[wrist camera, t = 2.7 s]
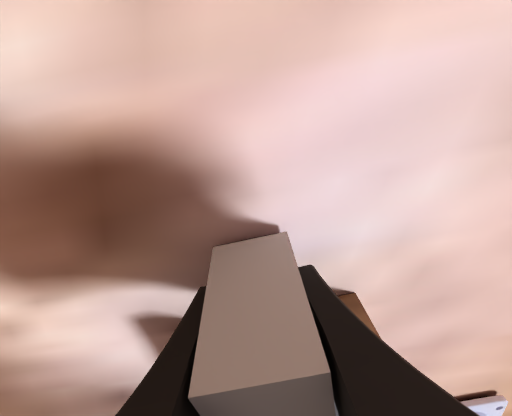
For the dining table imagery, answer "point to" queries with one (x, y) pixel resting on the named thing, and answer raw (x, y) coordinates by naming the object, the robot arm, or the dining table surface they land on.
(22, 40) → the dining table surface
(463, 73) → the dining table surface
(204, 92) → the dining table surface
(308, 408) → the tethered block
